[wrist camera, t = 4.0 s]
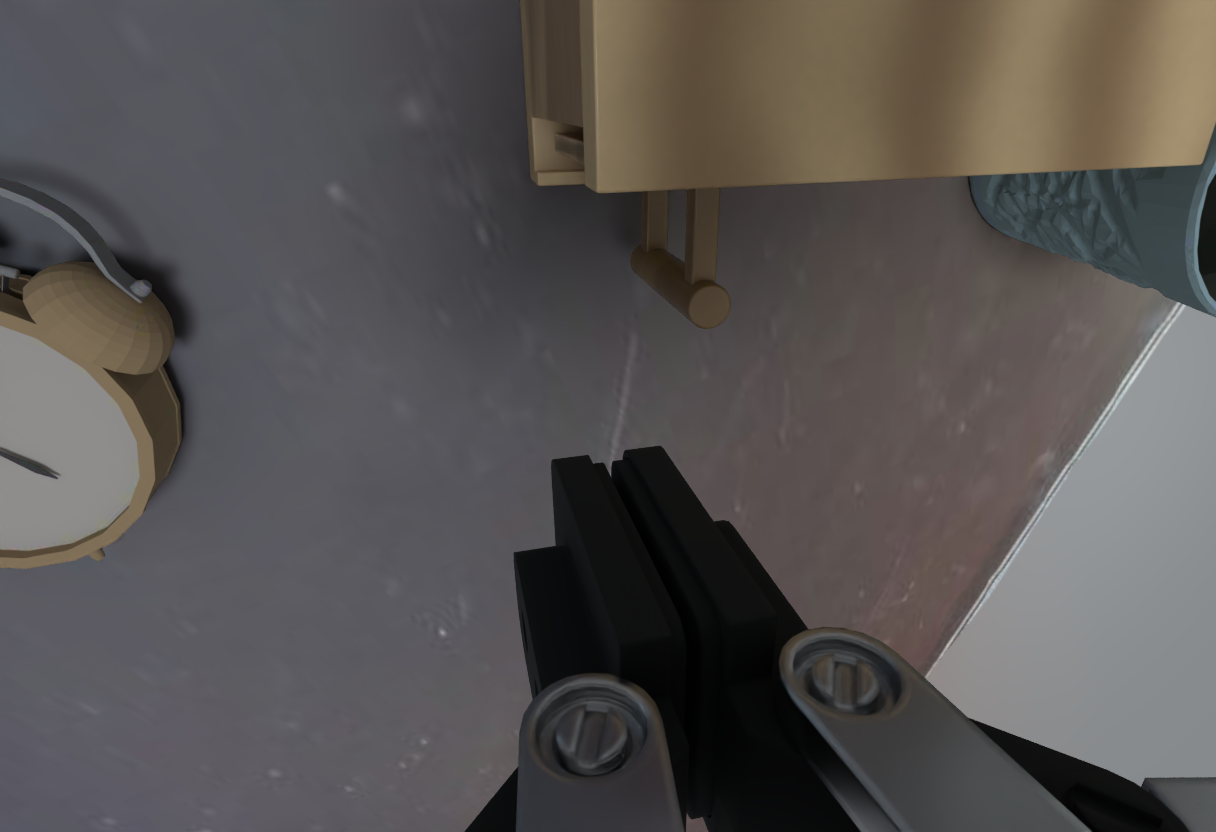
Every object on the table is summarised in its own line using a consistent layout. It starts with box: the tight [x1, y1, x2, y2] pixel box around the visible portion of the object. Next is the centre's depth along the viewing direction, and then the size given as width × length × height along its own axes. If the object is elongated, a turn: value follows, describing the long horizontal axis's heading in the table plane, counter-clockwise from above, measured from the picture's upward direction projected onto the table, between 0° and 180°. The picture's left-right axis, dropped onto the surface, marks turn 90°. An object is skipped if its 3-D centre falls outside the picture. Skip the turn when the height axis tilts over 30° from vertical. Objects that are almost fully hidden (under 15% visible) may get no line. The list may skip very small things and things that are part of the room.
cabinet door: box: [555, 132, 731, 329], centre depth 24 cm, size 8×5×9 cm, turn 91°
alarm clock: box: [0, 179, 182, 569], centre depth 25 cm, size 11×5×15 cm
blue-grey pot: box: [970, 124, 1216, 317], centre depth 28 cm, size 10×10×12 cm
